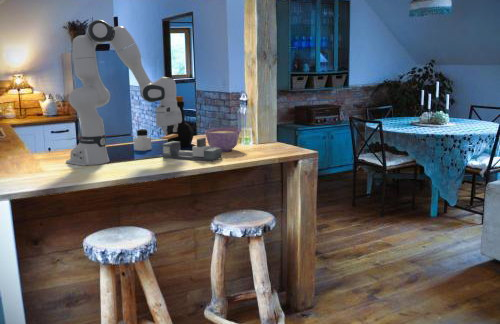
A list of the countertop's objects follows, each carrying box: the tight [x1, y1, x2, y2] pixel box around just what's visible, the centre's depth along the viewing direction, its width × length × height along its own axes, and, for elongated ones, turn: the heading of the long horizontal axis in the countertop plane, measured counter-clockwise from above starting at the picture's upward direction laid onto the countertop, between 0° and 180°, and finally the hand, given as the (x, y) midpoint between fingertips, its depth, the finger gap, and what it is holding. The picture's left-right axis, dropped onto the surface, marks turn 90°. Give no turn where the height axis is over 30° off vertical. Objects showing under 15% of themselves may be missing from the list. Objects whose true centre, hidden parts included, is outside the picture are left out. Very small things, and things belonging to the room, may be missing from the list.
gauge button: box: [161, 134, 178, 140], centre depth 266 cm, size 3×11×1 cm, turn 157°
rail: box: [161, 141, 222, 163], centre depth 262 cm, size 30×10×8 cm, turn 67°
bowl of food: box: [204, 127, 241, 153], centre depth 282 cm, size 20×20×12 cm
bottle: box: [165, 95, 195, 148], centre depth 298 cm, size 16×16×30 cm
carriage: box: [191, 137, 211, 157], centre depth 260 cm, size 7×7×9 cm
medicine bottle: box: [133, 128, 153, 152], centre depth 288 cm, size 7×7×12 cm
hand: (170, 133), depth 266 cm, fingers open, 8 cm apart
